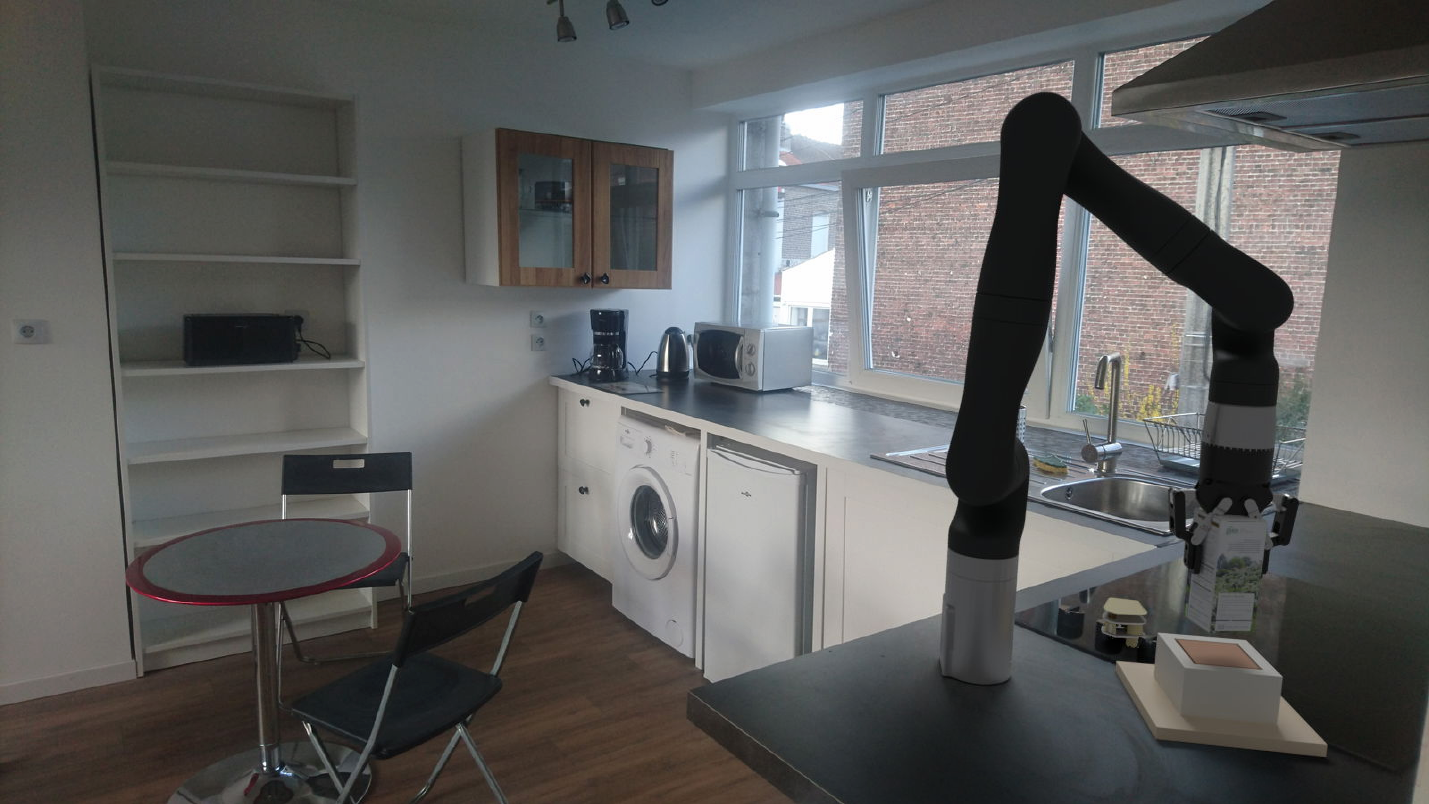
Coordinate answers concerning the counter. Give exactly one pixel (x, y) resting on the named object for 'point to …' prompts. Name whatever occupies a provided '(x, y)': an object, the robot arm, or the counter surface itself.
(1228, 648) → the plunger seat
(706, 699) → the counter surface
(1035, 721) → the counter surface
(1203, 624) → the syrup box
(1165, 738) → the sleeve
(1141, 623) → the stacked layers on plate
